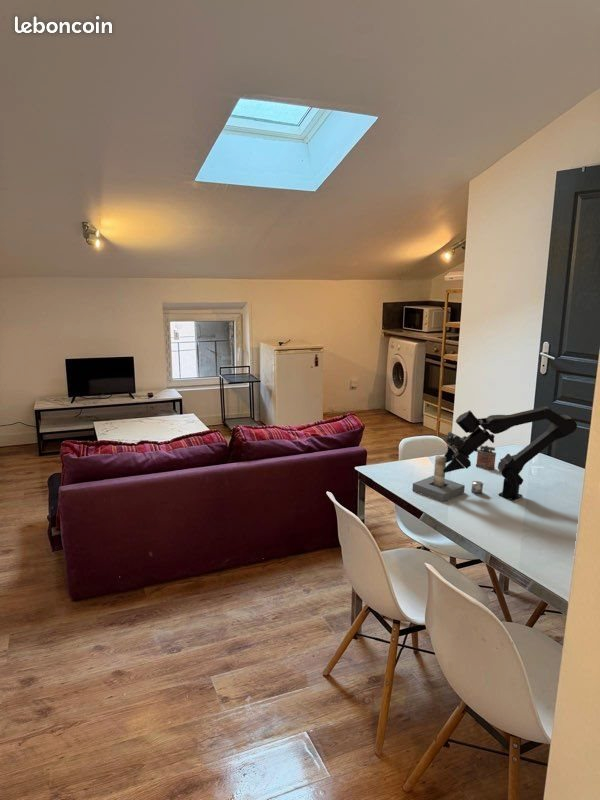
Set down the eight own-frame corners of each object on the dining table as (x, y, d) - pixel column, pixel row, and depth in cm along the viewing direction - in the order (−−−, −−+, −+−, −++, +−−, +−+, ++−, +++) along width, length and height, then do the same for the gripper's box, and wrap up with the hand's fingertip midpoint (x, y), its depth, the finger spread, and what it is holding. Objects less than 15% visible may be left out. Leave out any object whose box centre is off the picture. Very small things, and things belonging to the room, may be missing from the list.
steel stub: (474, 489, 206) (475, 480, 205) (484, 492, 203) (485, 483, 202) (469, 492, 203) (470, 482, 202) (478, 495, 200) (479, 485, 200)
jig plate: (433, 482, 213) (434, 475, 212) (464, 492, 203) (464, 485, 202) (412, 490, 204) (412, 483, 203) (443, 501, 194) (443, 494, 193)
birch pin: (433, 489, 206) (435, 455, 203) (443, 490, 205) (446, 456, 202) (432, 492, 202) (435, 458, 199) (443, 494, 201) (446, 459, 198)
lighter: (474, 467, 232) (476, 445, 230) (477, 464, 235) (479, 443, 233) (493, 470, 228) (495, 448, 226) (495, 468, 231) (497, 446, 228)
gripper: (455, 419, 206) (424, 445, 210) (463, 432, 188) (430, 460, 192) (474, 440, 207) (443, 465, 210) (484, 454, 189) (451, 482, 192)
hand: (441, 467), depth 201 cm, fingers open, 9 cm apart
